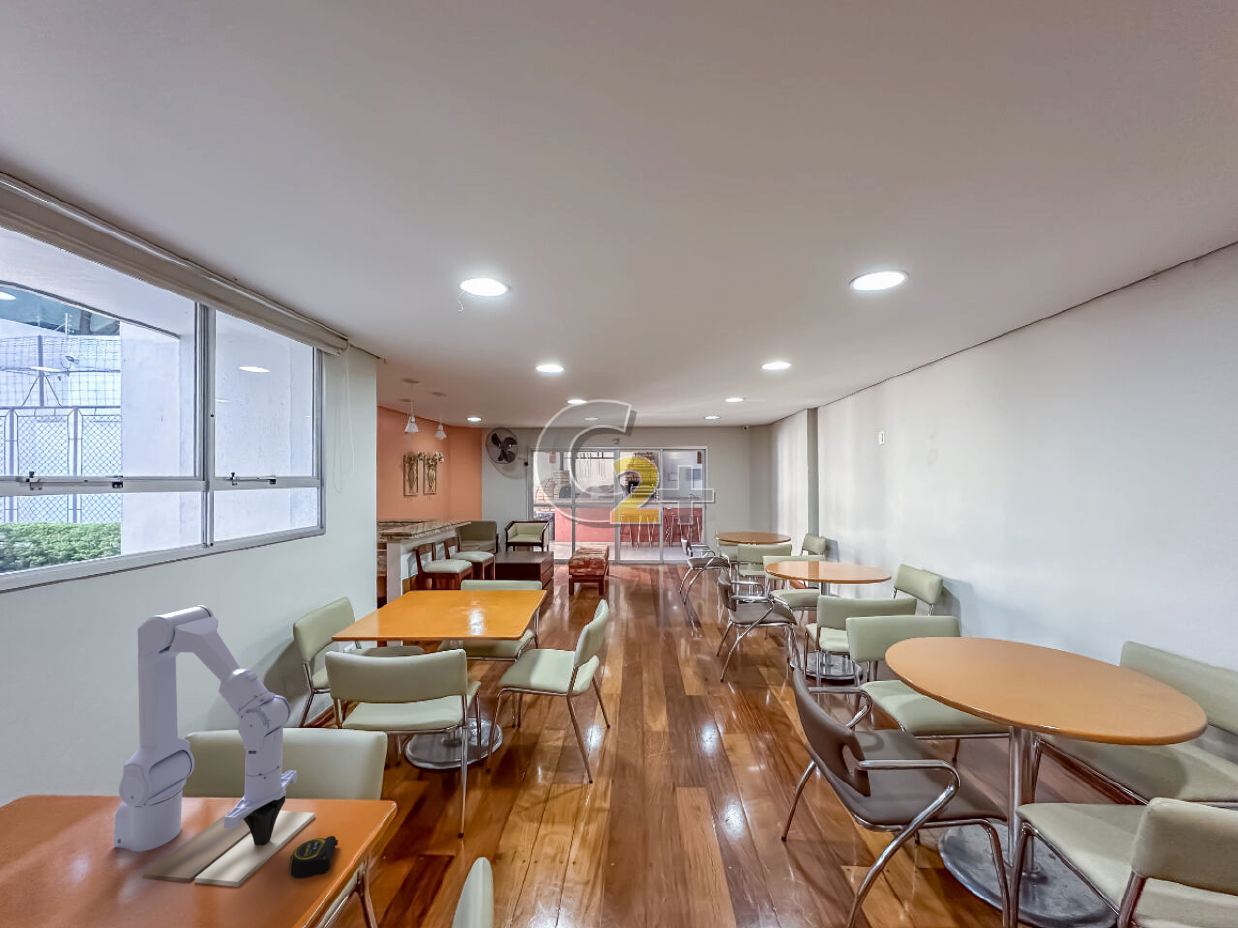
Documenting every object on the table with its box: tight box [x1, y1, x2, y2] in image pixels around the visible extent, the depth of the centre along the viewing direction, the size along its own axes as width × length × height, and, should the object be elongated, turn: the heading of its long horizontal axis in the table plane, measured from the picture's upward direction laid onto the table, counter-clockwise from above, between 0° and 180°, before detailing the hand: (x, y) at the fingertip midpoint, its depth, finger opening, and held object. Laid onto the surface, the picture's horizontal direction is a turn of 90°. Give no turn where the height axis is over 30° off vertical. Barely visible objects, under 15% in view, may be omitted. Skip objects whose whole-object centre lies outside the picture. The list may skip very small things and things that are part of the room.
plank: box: [194, 809, 316, 888], centre depth 93 cm, size 8×18×2 cm, turn 174°
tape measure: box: [288, 835, 339, 879], centre depth 89 cm, size 7×7×4 cm
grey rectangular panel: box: [142, 809, 251, 883], centre depth 94 cm, size 9×18×2 cm, turn 173°
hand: (262, 842), depth 93 cm, fingers closed, pressing on plank
